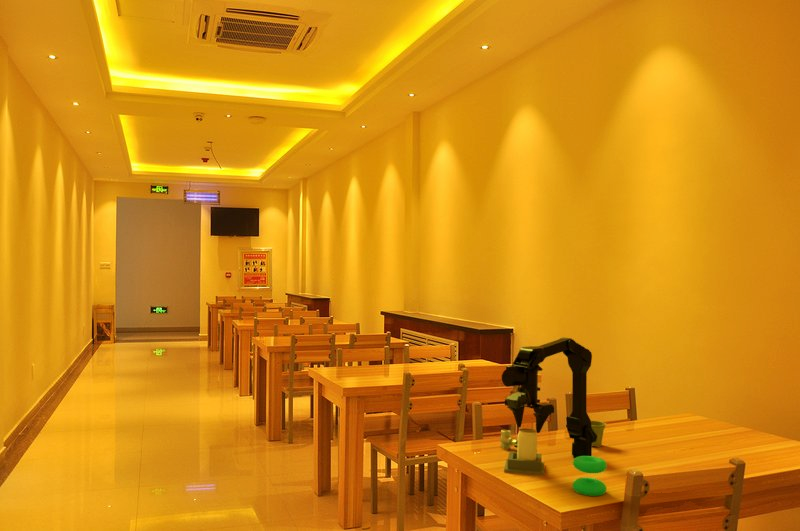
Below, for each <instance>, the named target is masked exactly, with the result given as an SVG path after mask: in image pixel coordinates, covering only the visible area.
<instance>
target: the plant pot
mask: <svg viewBox="0 0 800 531" xmlns="http://www.w3.org/2000/svg"><path fill="white" fill-rule="evenodd" d="M606 425H607V423H606V422H603V421H600V420H591V427H592V429H593V431H594V432H595V433H596V435H597V439H596V442H594V443H592V447H595V448H599V447H601V446H602V443H603V436H604V431H605V428H606Z"/></svg>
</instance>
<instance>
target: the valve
mask: <svg viewBox="0 0 800 531" xmlns="http://www.w3.org/2000/svg"><path fill="white" fill-rule="evenodd" d="M511 436H512V431H511V430H509V429H501V431H500V438H499V440H500V449H503V450H510V449H511V447H512V446H514V447H515V448H516V450H515V452H517V443H518V438H516V439H515V438H514V437H511Z"/></svg>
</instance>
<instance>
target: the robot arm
mask: <svg viewBox="0 0 800 531" xmlns="http://www.w3.org/2000/svg"><path fill="white" fill-rule="evenodd" d="M560 353H562V354H563V355H565V357H566V358H567V364H568V366H569V368H570V370H571V372H572V376H571V377H572V381H571V383H572V388H571V390H572V393H571V394H572V409H571V410H572V411H571V413H570V415H568V416H566V418H565V419H566V420H565V421H566V423H565V424H566V426H565V428H566V430H567V432H568V436H569V437H568V438H570V439H573V442H571V455H572V456H573V459H575V458H576V457H579V456H593V455H592V454H593V452H592V449H593V448H592V447H593V446H592V443H594V442H596V439H597V435H596V433H595V432H594V431H593V429H592V427H591V421H592V419H591V418H590V416H589V414H588V412H587V395H588V394H587V392H588V391H587V389H588V388H587V384H588V383H587V375H588V374H587V373H588V371H589V370H590V368H591V366H592V359H593V355H592V351H591V350H590V349H588V348H586V347H585V346H583V345H581V344H580V343H578V342H576V340H574V339H573V338H571V337H560V338H559V339H556V340H553V341H550V342H547V343H544V344H541V345H535V346H531V345H529V346H522V347H521V348H519V351H518V353H517V355H516V357H515V358H514V360H513V362H512V364H511V365H506V367H505V370H503V372H502V374H501V381H502V385H504V386H505V387H517V389H516V392H514V393H512V394H510V395H509V396H506V397H505V399H504V406H506V408H507V409H509V410H510V411H511V412H512V415H513V417H514V420H515V423H516V424H515V425H516V426H517V428H519V429H520V428H521V427H522V424H523V423H522V422H523V418H524V412H525V408H529V409H533V412H534V413H533V414H532V415H534V417H535V430H536V434H539V433H541V432H542V428H543V427H544V425H545V423H546V421H547V419H548V418H549V416H551V415H552V414H554V413H555V406H554V405H553V404H551V403H547V402H541V400H540V399H538V392H540V391H541V387H539V385H538V384H539V383H538V381H539V378H538V377H539V372H540V371H543V370H544V369H543V368H542V367H541V366H540V364H541V363H543V362H544V361H545V359H547V358H548V357H551V356H554V355H557V354H560Z"/></svg>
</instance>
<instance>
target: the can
mask: <svg viewBox="0 0 800 531" xmlns="http://www.w3.org/2000/svg"><path fill="white" fill-rule="evenodd" d="M517 439H518V443H517V448H516V450H517V459H522V460H534V461H536V460H537V454H538V452H537V451H538V433H537V432H536V429H533V428H528V427H527V428H526V427H525V428H524V427H523V428H519V429H518V433H517Z"/></svg>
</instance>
